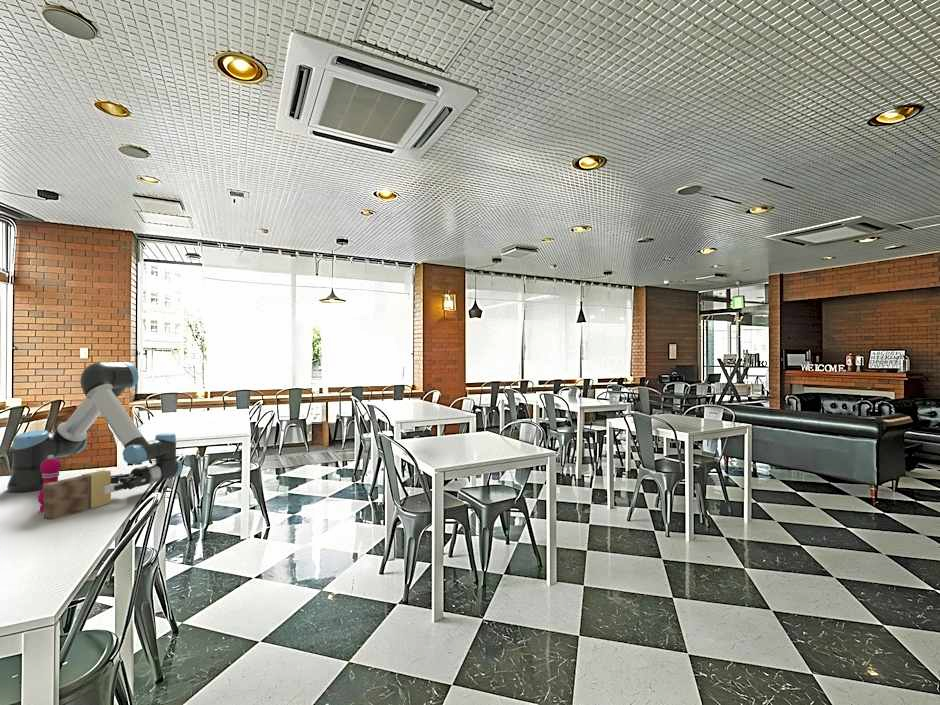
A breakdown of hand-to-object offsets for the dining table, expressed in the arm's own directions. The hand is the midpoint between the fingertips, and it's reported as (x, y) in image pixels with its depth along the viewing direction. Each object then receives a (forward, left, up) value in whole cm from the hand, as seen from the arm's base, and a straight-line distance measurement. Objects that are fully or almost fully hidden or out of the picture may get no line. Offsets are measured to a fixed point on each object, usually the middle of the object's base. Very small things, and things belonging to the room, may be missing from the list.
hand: (91, 488), depth 191 cm
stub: (-1, +1, -7) cm, 7 cm away
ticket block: (+5, -7, -7) cm, 11 cm away
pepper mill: (-4, -12, -7) cm, 15 cm away
